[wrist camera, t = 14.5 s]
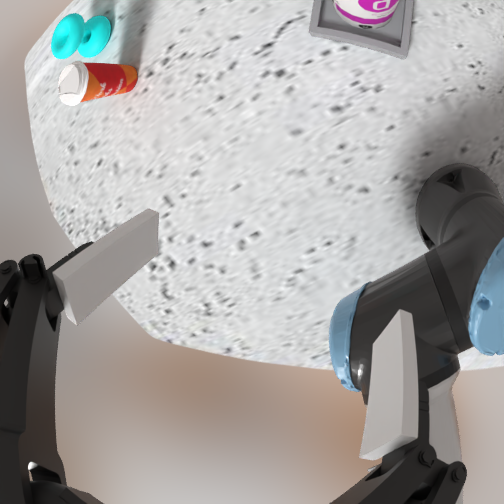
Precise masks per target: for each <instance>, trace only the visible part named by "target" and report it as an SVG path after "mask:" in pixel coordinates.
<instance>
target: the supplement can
mask: <svg viewBox="0 0 504 504" xmlns="http://www.w3.org/2000/svg"><path fill="white" fill-rule="evenodd" d="M332 2H333V6H334V8H335V10H336V12H337V14H338V15H339V16H340V17H341V18H342V19H343V20H344V21H346V22H347V23H349V24H351V25H352V26H355V27H358V28H361V29H378V28H381V27H384V26H385V25H387V24H388V23H389V22H390V21H391V19H392V17H393V15H394V12H395V10H396V7H397V4H398V2H399V0H332Z"/></svg>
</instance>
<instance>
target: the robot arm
mask: <svg viewBox="0 0 504 504" xmlns="http://www.w3.org/2000/svg"><path fill="white" fill-rule="evenodd" d="M416 222H417V227H418V230H419V233H420V235H421V238H422V240H423V242H424V244H425V245H426V247H427V248H428V249H429V250H430V251H429V252H427V253H425V254H424V255H422V256H420V257H418V258H417V259H415V260H413V261H411V262H409V263H408V264H406V265H404V266H402V267H400V268H398V269H397V270H395V271H393V272H391V273H389V274H387V275H385V276H383V277H381V278H379V279H377V280H376V281H374V282H368V283H366V284H364V285H363V286H362V287H361V288H360V289H358V290H357V291H355V292H353V293H351V294H350V295H348V296H346V297H344V298H343V299H342V300H341V301H340V302H339V303H338V304H337V306H336V308H335V310H334V313H333V316H332V318H331V322H330V328H329V348H330V356H331V361H332V365H333V368H334V371H335V373H336V375H337V377H338V379H341V384H342V385H343V386H344V387H345V388H346V389H348V390H351V391H356V392H359V391H361V392H362V395H363V399H364V403H365V407H366V408H367V414H366V421H365V427H364V434H363V440H362V445H361V450H360V455H359V458H364V459H369V460H376V459H379V458H381V457H383V459H382V463H381V464H379V465H377V466H374V467H372V468H370V469H368V472H369V471H371V472H370V473H369V474H367V475H366V476H365V477H364V478H363V479H362V480H360V481H359V482H358V483H357V484H355V485H354V486H353V487H352V488H350V489H349V490H348V491H346V492H345V493H344V494H342V495H341V496H340V497H338V498H337V499H336V500H334V501H333V502H332V503H330V504H463V485H464V483H465V480H466V476H467V470H466V467H465V465H464V464H463V463H462V455H461V446H460V436H459V429H458V421H457V415H456V409H455V404H454V399H453V394H452V386H453V384H454V382H455V380H456V378H457V376H458V374H459V372H460V370H461V369H460V364H459V360H458V356H457V355H458V354H459V353H461V352H463V351H465V350H467V349H469V348H471V347H473V346H474V347H476V349H478V350H479V351H480V352H481V353H483V354H485V355H488V356H493V355H494V354H495V353H496V354H497V355H502V354H504V203H503V201H502V199H501V196H500V194H499V192H498V189H497V187H496V186H495V184H494V183H493V181H492V180H491V179H490V178H489V177H488V176H487V175H486V174H485V173H483V172H482V171H480V170H479V169H477V168H475V167H473V166H470V165H467V164H451V165H448V166H445V167H443V168H441V169H439V170H438V171H436V172H435V173H434V174H433V175H432V176H431V177H430V178H429V179H428V180H427V181H426V183H425V184H424V186H423V187H422V189H421V192H420V194H419V197H418V200H417V205H416ZM158 224H159V213H158V212H156V211H153V210H151V209H146V210H145V211H143V212H141V213H140V214H138V215H136V216H135V217H133V218H132V219H130V220H128V221H127V222H125V223H124V224H122V225H120V226H119V227H117V228H116V229H114V230H113V231H111V232H110V233H108V234H106V235H105V236H103V237H102V238H100V239H99V240H97V241H96V242H89V243H86V244H83V245H81V246H80V247H78V248H77V249H75V250H74V251H72V252H71V253H69V254H68V256H65V257H64V258H62V259H61V260H60V261H58V262H57V263H55V264H54V265H53V266H51V267H50V268H49V269H48V270H46V268H45V265H44V261H43V258H42V257H41V256H40V255H37V254H31V255H28V256H25V257H24V258H23V259H21V260H20V262H19V263H18V265H19V268H20V270H19V268H18V265H17V263H16V262H15V261H13V260H7V261H4V262H3V263H1V264H0V504H103V503H102V502H100V501H99V500H98V499H96V498H95V497H93V496H92V495H91V494H89V493H86V492H82V491H79V490H77V489H74V488H72V487H68V486H67V484H66V478H65V471H64V466H63V463H62V460H61V458H60V456H59V454H58V452H57V444H56V429H55V375H56V360H57V348H58V339H59V331H60V323H61V313H60V312H61V311H63V310H65V313H66V315H67V318H69V319H70V320H71V321H72V322H73V323H75V324H76V325H79V324H80V323H81V322H82V321H83V320H84V319H85V318H86V317H87V316H88V315H90V314H91V313H92V312H93V311H94V310H95V309H96V308H97V307H98V306H99V305H100V304H101V303H102V302H103V301H104V300H106V299H107V298H108V297H109V296H110V295H111V294H112V293H114V292H115V291H116V290H117V289H118V288H119V287H120V286H121V285H122V284H124V283H125V282H126V281H127V280H128V279H129V278H130V277H132V276H133V275H134V274H135V273H136V272H137V271H138V270H140V269H141V268H142V267H143V266H144V265H145V264H147V263H148V262H149V261H150V260H151V259H153V258H154V257H155V256H156V255H157V254H158ZM6 299H7V301H8V305H7V306H5V305H4V302H5V300H6ZM28 469H29V470H30V472H31V474H32V479H33V481H30V478H29V470H28Z"/></svg>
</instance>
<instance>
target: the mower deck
mask: <svg viewBox="0 0 504 504" xmlns="http://www.w3.org/2000/svg"><path fill="white" fill-rule="evenodd" d="M412 10H413V0H399V2H398V4H397V7H396V10H395V12H394V15H393V17H392V19H391V21H390V22H389V23H388V24H387V25H385V26H384V27H381V28H378V29H361V28H358V27H355V26H352V25H351V24H349V23H347V22H346V21H344V20H343V19H342V18H341V17H340V16H339V15H338V14H337V12H336V10H335V8H334V6H333V2H332V0H314V3H313V9H312V15H311V21H310V27H309V33H310V34H311V36H314V37H320V38H326V39H331V40H336V41H340V42H345V43H349V44H353V45H357V46H361V47H365V48H369V49H372V50H376V51H379V52H382V53H385V54H389V55H392V56H395V57H398V58H400V59H403V60H404V59H405V58H406V57H407V54H408V47H409V39H410V31H411V22H412Z"/></svg>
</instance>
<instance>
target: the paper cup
mask: <svg viewBox="0 0 504 504" xmlns="http://www.w3.org/2000/svg"><path fill="white" fill-rule="evenodd" d="M137 77H138V76H137V71H136V69H135V68H134V67H133V66H129V65H121V64H107V63H83V62H81V61H75V62H73V63H72V64H69V65H67V66H66V67H65V68H64V69H63V71H62V73H61V75H60V78H59V82H58V85H59V87H58V88H59V93H60V96H59V97H60V100H61V101H62V102H63V103H64V104H68V105H71V106H75V105H77V104H78V103H79V102H83V101H88V100H92V99H96V98H101V97H106V96H111V95H116V94H121V93H126V92H129V91H131V90H132V89H133V88H134V87H135V85H136V83H137Z"/></svg>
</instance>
